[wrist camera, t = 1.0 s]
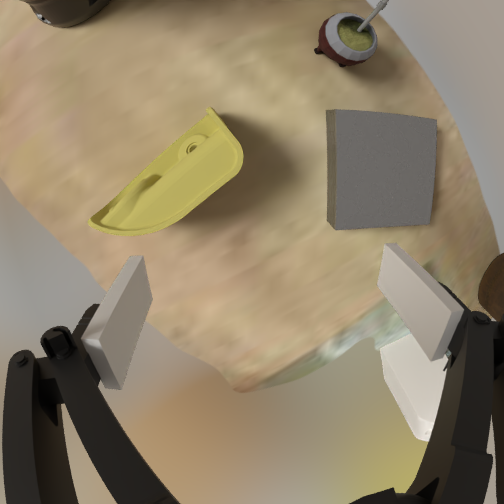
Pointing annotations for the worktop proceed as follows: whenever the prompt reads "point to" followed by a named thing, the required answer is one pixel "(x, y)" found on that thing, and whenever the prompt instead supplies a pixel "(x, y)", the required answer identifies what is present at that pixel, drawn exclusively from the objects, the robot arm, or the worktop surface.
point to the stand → (379, 169)
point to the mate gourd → (348, 37)
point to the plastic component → (174, 181)
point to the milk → (414, 383)
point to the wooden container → (493, 289)
